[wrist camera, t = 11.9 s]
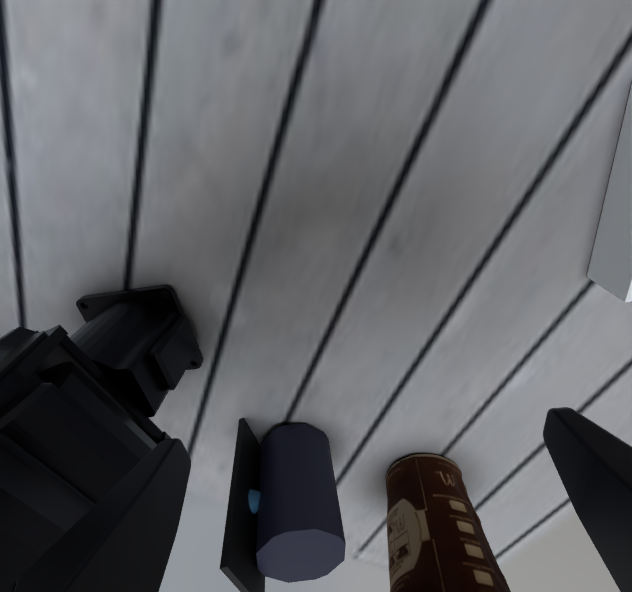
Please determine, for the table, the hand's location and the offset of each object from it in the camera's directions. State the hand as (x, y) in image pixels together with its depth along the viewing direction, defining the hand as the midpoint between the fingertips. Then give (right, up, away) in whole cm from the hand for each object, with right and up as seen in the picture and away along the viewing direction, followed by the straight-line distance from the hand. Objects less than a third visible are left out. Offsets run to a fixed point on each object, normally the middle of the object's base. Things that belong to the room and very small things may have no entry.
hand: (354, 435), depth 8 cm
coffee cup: (+8, -12, +21) cm, 26 cm away
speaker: (-3, -8, +20) cm, 22 cm away
